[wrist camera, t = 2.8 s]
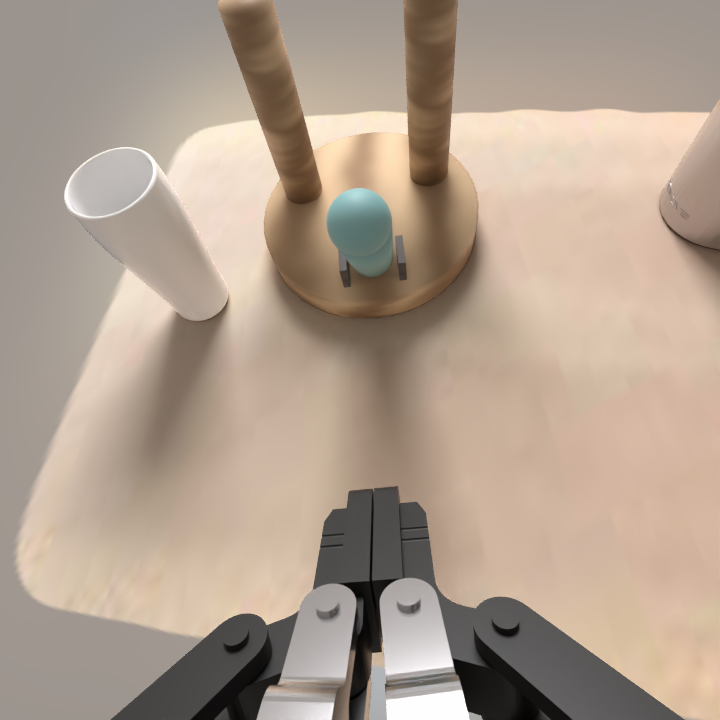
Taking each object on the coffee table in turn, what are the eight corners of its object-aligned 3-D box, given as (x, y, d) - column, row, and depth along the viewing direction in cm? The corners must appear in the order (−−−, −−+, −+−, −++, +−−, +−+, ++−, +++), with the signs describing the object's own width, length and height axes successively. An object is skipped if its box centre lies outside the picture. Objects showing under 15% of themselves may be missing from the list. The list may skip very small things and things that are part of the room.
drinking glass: (248, 276, 45) (173, 149, 32) (222, 336, 43) (129, 226, 29) (187, 266, 47) (91, 141, 33) (159, 323, 44) (43, 213, 31)
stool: (457, 143, 49) (476, -97, 32) (493, 303, 41) (545, 96, 23) (274, 171, 51) (195, -43, 33) (271, 330, 42) (162, 156, 25)
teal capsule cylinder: (390, 234, 40) (387, 174, 23) (395, 276, 40) (395, 247, 24) (349, 239, 40) (317, 184, 24) (354, 281, 40) (326, 256, 24)
